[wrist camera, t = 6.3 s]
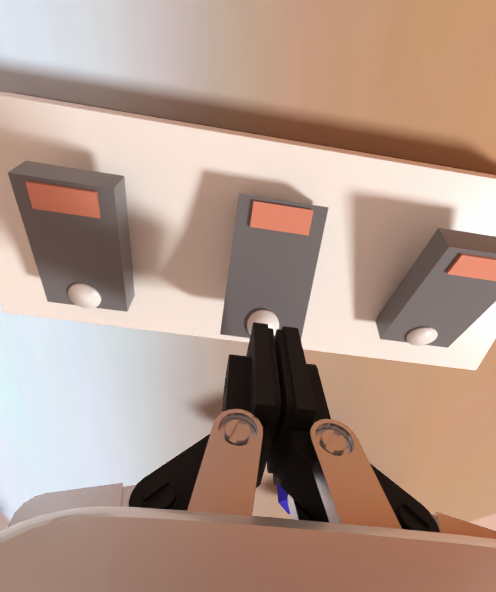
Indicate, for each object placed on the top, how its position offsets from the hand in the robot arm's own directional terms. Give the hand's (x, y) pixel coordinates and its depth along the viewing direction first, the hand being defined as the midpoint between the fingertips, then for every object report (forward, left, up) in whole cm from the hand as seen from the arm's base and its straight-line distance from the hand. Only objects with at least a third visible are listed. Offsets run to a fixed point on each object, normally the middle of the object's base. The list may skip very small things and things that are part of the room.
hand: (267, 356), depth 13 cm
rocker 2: (+2, 0, -3) cm, 4 cm away
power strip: (+2, -2, -8) cm, 9 cm away
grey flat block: (+2, -8, -3) cm, 9 cm away
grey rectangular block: (+2, +8, -3) cm, 9 cm away
